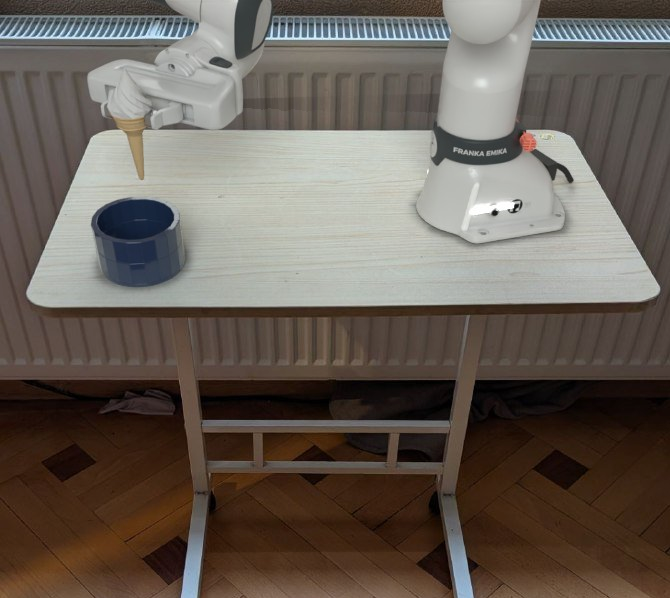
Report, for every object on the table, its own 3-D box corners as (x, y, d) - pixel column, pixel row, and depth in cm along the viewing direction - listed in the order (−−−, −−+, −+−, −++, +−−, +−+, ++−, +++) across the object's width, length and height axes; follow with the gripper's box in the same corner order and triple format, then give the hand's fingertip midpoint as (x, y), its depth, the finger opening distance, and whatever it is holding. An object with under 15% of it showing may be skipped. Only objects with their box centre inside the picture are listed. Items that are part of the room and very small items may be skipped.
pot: (185, 237, 120) (180, 194, 116) (184, 284, 112) (179, 240, 107) (103, 241, 119) (95, 198, 114) (96, 289, 111) (87, 244, 106)
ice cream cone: (158, 191, 109) (142, 77, 98) (115, 189, 109) (95, 76, 98) (166, 170, 113) (151, 59, 102) (124, 168, 113) (106, 57, 102)
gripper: (119, 39, 114) (54, 76, 105) (250, 68, 108) (194, 110, 99) (126, 85, 118) (65, 124, 109) (253, 114, 112) (199, 159, 103)
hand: (127, 117), depth 104 cm, fingers closed on ice cream cone, 5 cm apart
